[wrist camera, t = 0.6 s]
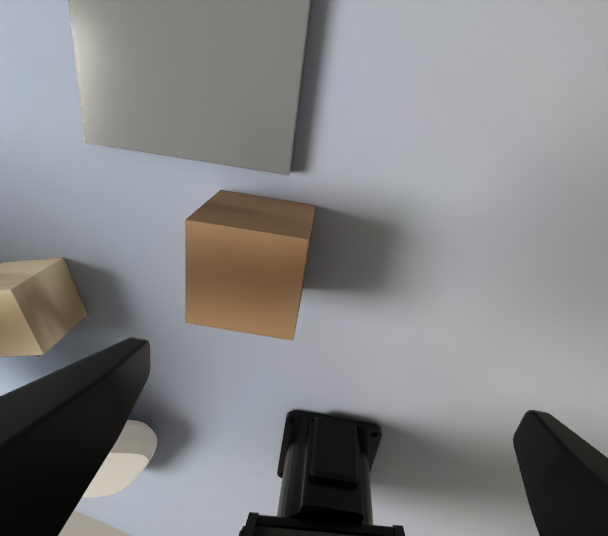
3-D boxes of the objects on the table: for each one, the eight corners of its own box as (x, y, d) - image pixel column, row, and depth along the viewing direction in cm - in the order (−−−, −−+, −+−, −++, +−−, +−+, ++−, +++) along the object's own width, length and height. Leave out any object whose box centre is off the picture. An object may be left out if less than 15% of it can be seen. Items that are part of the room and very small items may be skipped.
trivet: (290, 171, 19) (288, 175, 18) (94, 140, 19) (84, 142, 18) (314, -26, 15) (313, -32, 15) (73, -62, 15) (60, -69, 15)
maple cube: (88, 314, 24) (43, 354, 20) (31, 317, 24) (-22, 357, 21) (64, 256, 22) (10, 289, 19) (3, 261, 23) (-60, 294, 19)
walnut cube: (302, 288, 22) (293, 340, 17) (217, 274, 22) (185, 322, 17) (315, 204, 19) (308, 239, 15) (221, 189, 20) (185, 219, 15)
